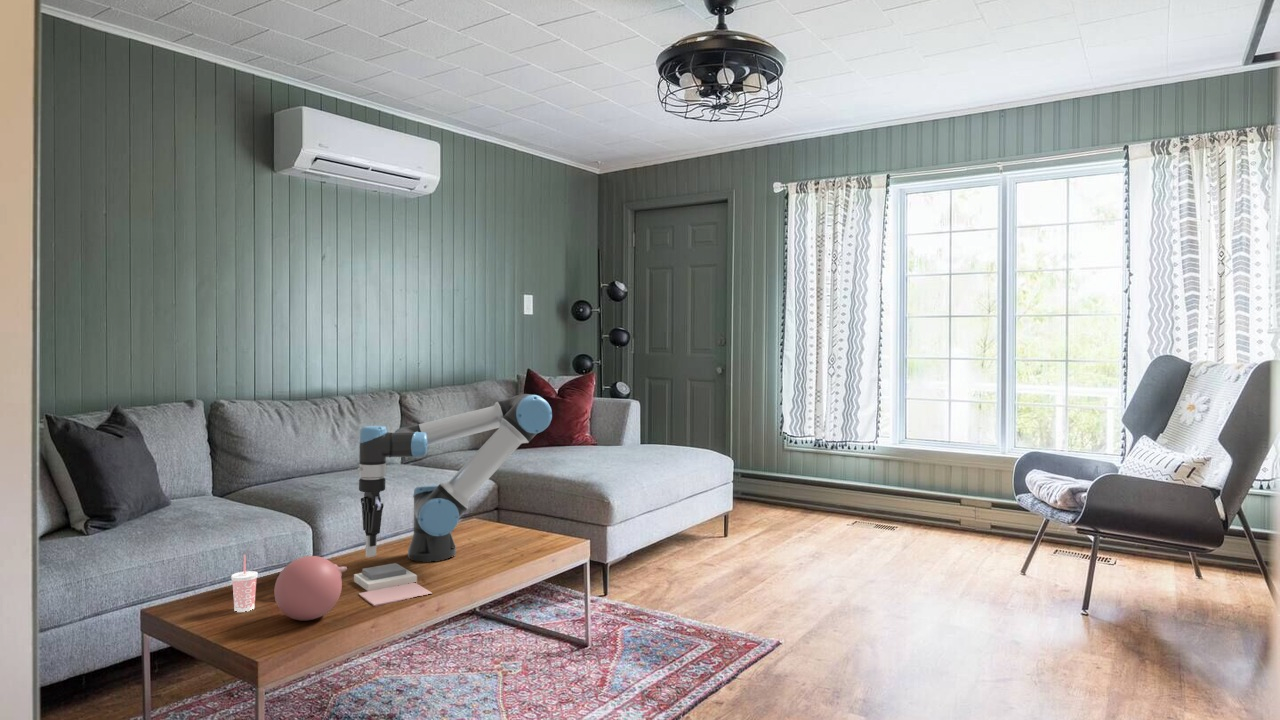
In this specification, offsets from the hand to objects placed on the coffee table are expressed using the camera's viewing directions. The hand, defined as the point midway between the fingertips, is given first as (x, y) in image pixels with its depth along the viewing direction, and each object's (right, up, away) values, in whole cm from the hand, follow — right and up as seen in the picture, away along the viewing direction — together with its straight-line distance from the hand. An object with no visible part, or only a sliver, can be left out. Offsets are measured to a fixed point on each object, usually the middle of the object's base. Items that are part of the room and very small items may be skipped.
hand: (370, 555), depth 226 cm
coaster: (+7, -3, -8) cm, 11 cm away
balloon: (-1, -6, -37) cm, 37 cm away
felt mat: (+14, -5, -20) cm, 25 cm away
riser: (+7, -5, -8) cm, 12 cm away
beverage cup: (-21, -6, -32) cm, 39 cm away
